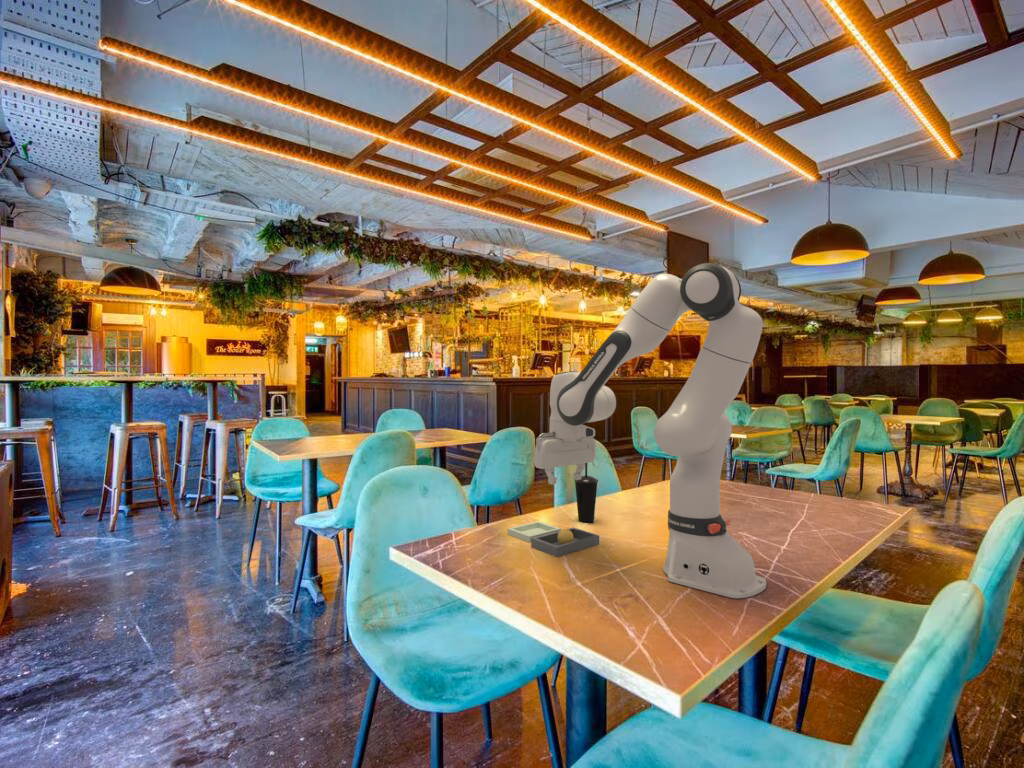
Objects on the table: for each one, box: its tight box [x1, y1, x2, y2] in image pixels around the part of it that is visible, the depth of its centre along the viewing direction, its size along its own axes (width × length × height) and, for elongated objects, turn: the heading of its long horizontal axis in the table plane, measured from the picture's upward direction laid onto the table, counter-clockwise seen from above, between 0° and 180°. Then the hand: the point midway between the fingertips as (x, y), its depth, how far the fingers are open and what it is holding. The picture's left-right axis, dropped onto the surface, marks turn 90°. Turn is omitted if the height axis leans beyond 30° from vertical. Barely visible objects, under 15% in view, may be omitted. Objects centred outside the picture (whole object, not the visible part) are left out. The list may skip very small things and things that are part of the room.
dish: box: [530, 526, 600, 558], centre depth 139 cm, size 10×16×3 cm, turn 129°
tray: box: [506, 520, 562, 544], centre depth 150 cm, size 10×12×2 cm
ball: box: [557, 528, 574, 544], centre depth 139 cm, size 4×4×4 cm
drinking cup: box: [573, 463, 599, 524], centre depth 165 cm, size 8×8×20 cm
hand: (565, 481), depth 140 cm, fingers open, 8 cm apart
